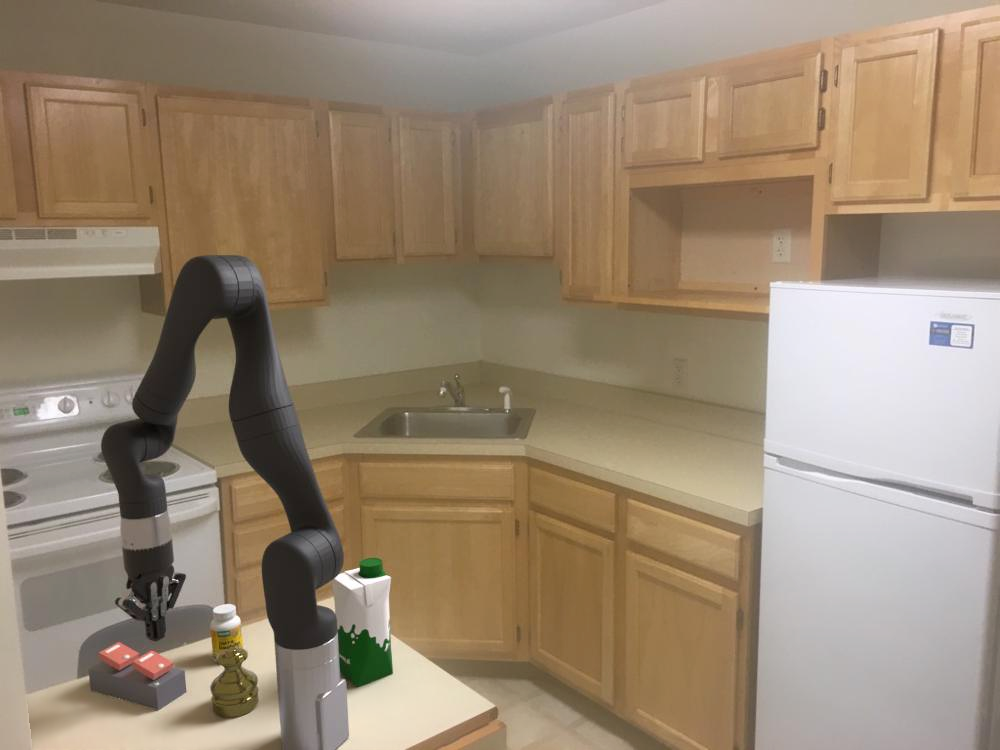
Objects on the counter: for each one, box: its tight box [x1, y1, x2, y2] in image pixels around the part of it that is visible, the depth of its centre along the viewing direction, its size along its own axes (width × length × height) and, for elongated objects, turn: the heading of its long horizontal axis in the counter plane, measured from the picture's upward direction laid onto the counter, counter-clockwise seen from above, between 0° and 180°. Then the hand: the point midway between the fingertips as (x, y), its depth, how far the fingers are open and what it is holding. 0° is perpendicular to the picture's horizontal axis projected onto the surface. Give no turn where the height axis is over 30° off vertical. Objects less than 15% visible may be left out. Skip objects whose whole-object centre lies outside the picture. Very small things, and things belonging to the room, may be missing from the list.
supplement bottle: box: [209, 603, 244, 663], centre depth 146 cm, size 5×5×10 cm
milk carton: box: [331, 557, 394, 688], centre depth 138 cm, size 9×9×20 cm
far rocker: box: [98, 641, 140, 670], centre depth 136 cm, size 5×4×2 cm
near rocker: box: [132, 650, 174, 680], centre depth 133 cm, size 5×4×2 cm
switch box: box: [87, 660, 188, 711], centre depth 135 cm, size 16×6×4 cm, turn 65°
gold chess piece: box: [210, 647, 260, 718], centre depth 130 cm, size 7×7×10 cm
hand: (156, 638), depth 132 cm, fingers closed
